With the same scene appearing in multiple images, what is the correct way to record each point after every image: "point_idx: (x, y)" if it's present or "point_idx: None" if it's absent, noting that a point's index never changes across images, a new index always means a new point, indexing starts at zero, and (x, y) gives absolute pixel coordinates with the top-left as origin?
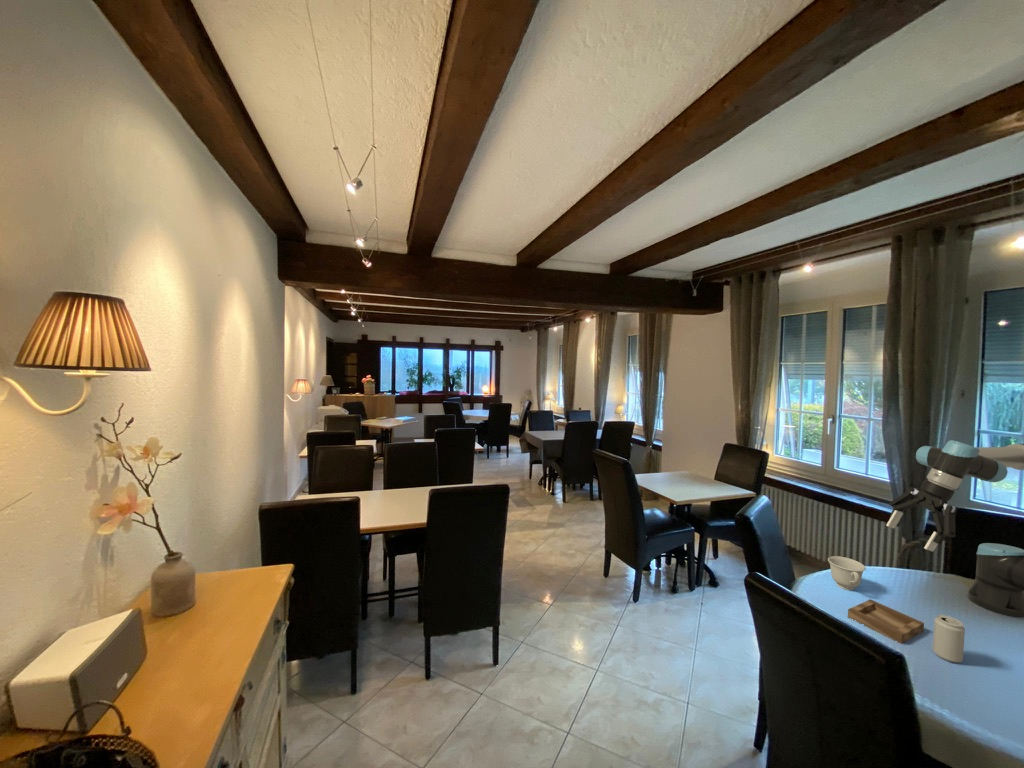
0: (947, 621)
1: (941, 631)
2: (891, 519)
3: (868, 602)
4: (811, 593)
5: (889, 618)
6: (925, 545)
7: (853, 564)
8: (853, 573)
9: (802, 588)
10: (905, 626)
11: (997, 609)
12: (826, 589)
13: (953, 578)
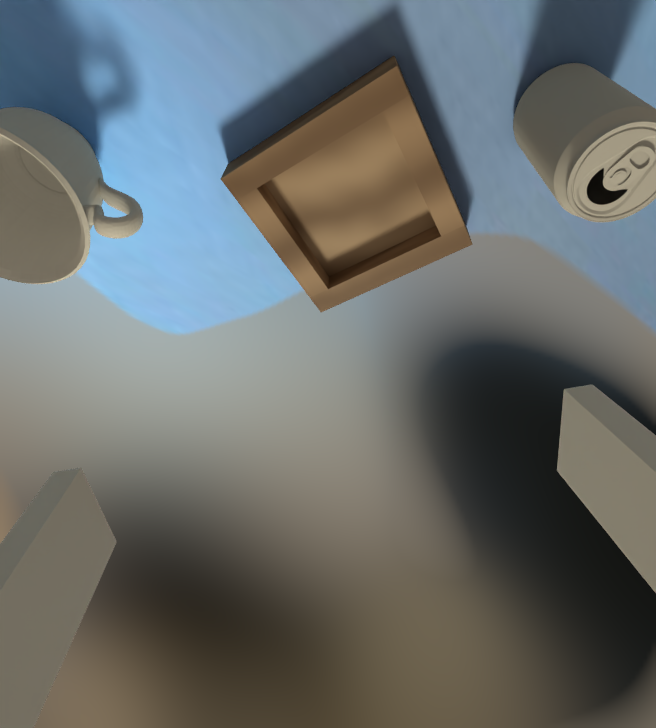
0: (574, 130)
1: (597, 203)
2: (66, 638)
3: (254, 208)
4: (187, 317)
5: (328, 165)
6: (577, 494)
7: None
8: (113, 237)
9: (160, 326)
10: (422, 185)
11: None
12: (132, 252)
13: None
